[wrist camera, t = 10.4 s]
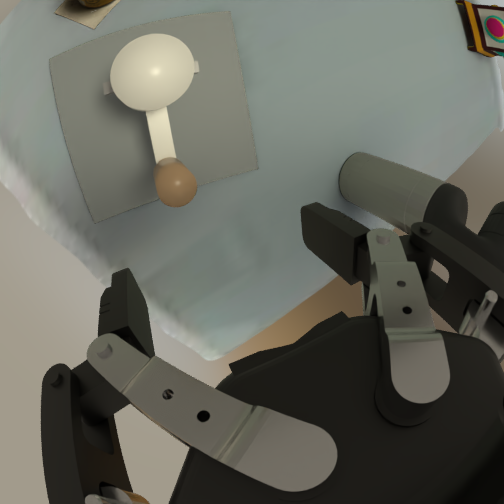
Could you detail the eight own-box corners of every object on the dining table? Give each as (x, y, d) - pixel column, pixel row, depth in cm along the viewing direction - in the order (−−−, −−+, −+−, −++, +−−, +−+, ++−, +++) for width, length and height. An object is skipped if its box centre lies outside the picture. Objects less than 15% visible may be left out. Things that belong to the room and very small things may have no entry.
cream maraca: (102, 61, 18) (89, 41, 12) (189, 41, 20) (208, 17, 14) (130, 195, 26) (128, 223, 20) (210, 172, 29) (233, 191, 22)
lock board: (226, 14, 23) (240, 1, 19) (253, 166, 36) (270, 175, 31) (52, 61, 18) (39, 53, 14) (96, 219, 30) (90, 236, 26)
